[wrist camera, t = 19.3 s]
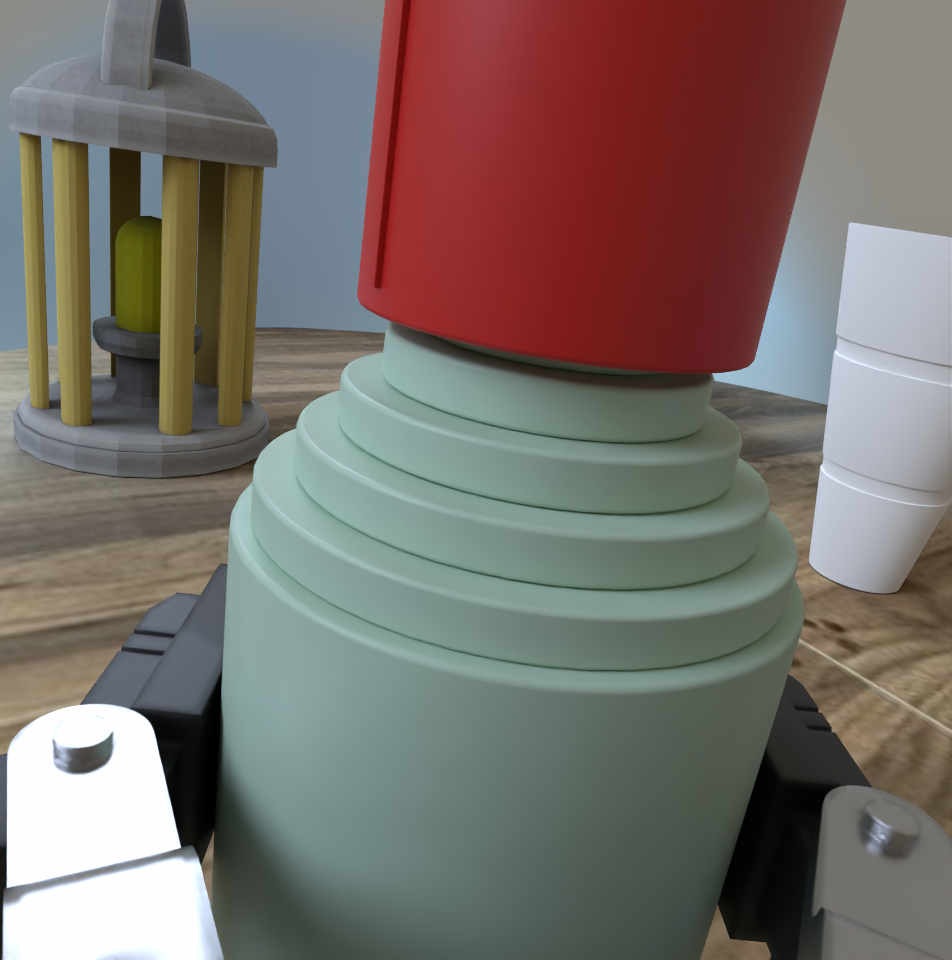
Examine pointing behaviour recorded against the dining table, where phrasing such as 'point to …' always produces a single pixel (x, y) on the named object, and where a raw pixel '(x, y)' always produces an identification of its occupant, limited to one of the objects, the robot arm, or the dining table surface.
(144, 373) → the lantern
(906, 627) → the dining table surface
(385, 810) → the water bottle
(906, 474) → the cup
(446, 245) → the cap
